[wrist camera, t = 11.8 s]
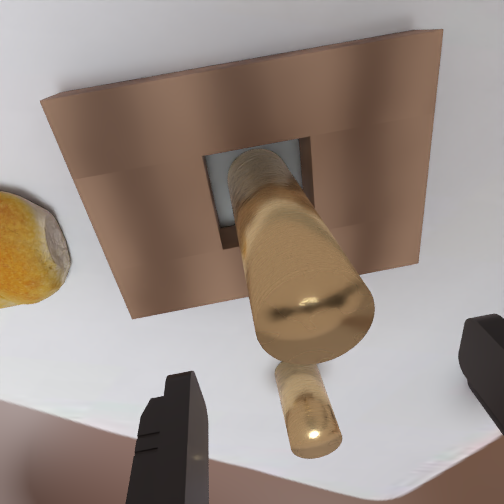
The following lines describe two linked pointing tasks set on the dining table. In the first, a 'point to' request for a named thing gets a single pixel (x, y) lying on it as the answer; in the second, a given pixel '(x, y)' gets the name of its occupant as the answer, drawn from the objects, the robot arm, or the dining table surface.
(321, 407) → the short pin
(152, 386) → the dining table surface
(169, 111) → the hole board
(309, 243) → the tall pin
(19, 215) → the bread roll
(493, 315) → the robot arm
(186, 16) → the dining table surface
